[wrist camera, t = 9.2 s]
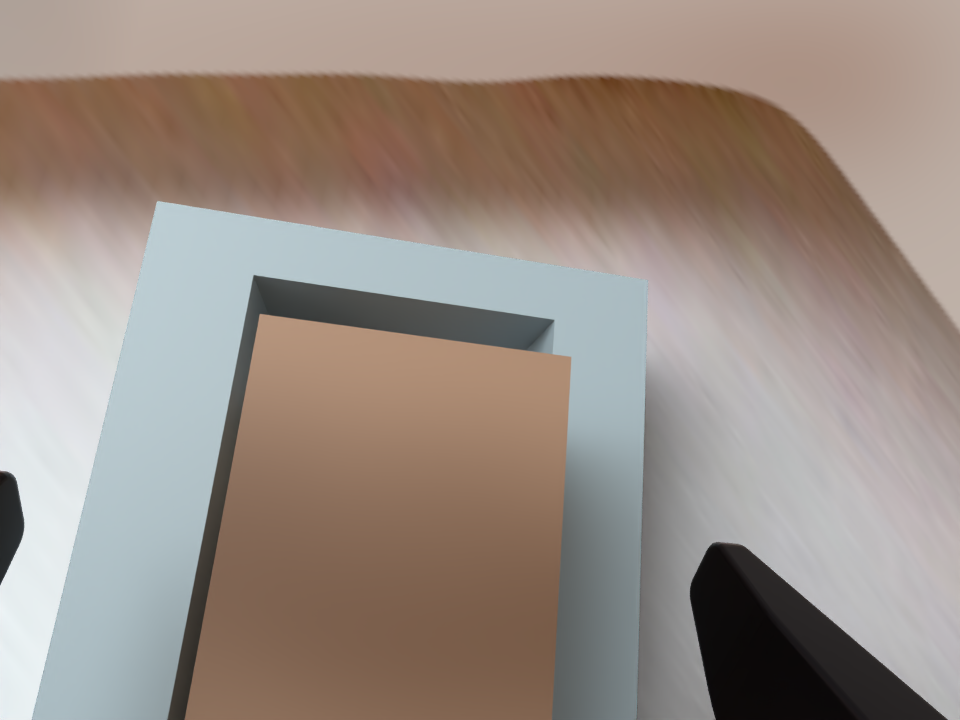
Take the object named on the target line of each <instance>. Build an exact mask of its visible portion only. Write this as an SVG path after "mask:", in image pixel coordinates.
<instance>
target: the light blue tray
mask: <svg viewBox="0 0 960 720" xmlns="http://www.w3.org/2000/svg"><path fill="white" fill-rule="evenodd" d="M647 303H648V280H644V279H638V278H631V277H625V276H619V275H613V274H607V273H600V272H594V271H588V270H582V269H576V268H569V267H563V266H557V265H551V264H544V263H538V262H532V261H526V260H520V259H513V258H507V257H501V256H495V255H489V254H482V253H476V252H470V251H464V250H458V249H451V248H445V247H439V246H433V245H427V244H420V243H414V242H408V241H402V240H396V239H389V238H383V237H377V236H371V235H365V234H358V233H352V232H346V231H340V230H334V229H327V228H321V227H315V226H309V225H302V224H296V223H290V222H284V221H278V220H271V219H265V218H259V217H253V216H247V215H240V214H234V213H228V212H222V211H216V210H209V209H203V208H197V207H191V206H185V205H178V204H172V203H166V202H160V201H157V204H156V209H155V213H154V217H153V221H152V225H151V229H150V233H149V237H148V242H147V246H146V250H145V254H144V258H143V262H142V266H141V270H140V275H139V279H138V283H137V287H136V291H135V295H134V299H133V304H132V308H131V312H130V316H129V320H128V324H127V328H126V332H125V337H124V341H123V345H122V349H121V353H120V357H119V361H118V365H117V370H116V374H115V378H114V382H113V386H112V390H111V394H110V398H109V403H108V407H107V411H106V415H105V419H104V423H103V427H102V431H101V436H100V440H99V444H98V448H97V452H96V456H95V460H94V465H93V469H92V473H91V477H90V481H89V485H88V489H87V493H86V498H85V502H84V506H83V510H82V514H81V518H80V522H79V526H78V531H77V535H76V539H75V543H74V547H73V551H72V555H71V559H70V564H69V568H68V572H67V576H66V580H65V584H64V588H63V593H62V597H61V601H60V605H59V609H58V613H57V617H56V621H55V626H54V630H53V634H52V638H51V642H50V646H49V650H48V654H47V659H46V663H45V667H44V671H43V675H42V679H41V683H40V687H39V692H38V696H37V700H36V704H35V708H34V712H33V716H32V720H185V715H186V709H187V704H188V699H189V693H190V688H191V683H192V677H193V672H194V666H195V661H196V656H197V650H198V645H199V639H200V634H201V629H202V623H203V618H204V612H205V607H206V602H207V596H208V591H209V585H210V580H211V575H212V569H213V564H214V558H215V553H216V548H217V542H218V537H219V531H220V526H221V521H222V515H223V510H224V505H225V499H226V494H227V488H228V483H229V478H230V472H231V467H232V461H233V456H234V451H235V445H236V440H237V434H238V429H239V424H240V418H241V413H242V407H243V402H244V397H245V391H246V386H247V380H248V375H249V370H250V364H251V359H252V353H253V348H254V343H255V337H256V332H257V327H258V321H259V316H260V314H264V315H271V316H279V317H286V318H293V319H300V320H308V321H315V322H322V323H329V324H337V325H344V326H351V327H358V328H366V329H373V330H380V331H387V332H395V333H402V334H409V335H416V336H424V337H431V338H438V339H445V340H453V341H460V342H467V343H475V344H482V345H489V346H496V347H504V348H511V349H518V350H525V351H533V352H540V353H547V354H554V355H562V356H569V357H571V375H570V393H569V412H568V430H567V449H566V467H565V486H564V504H563V523H562V541H561V560H560V578H559V596H558V615H557V633H556V652H555V670H554V689H553V707H552V720H637V690H638V651H639V612H640V574H641V535H642V496H643V458H644V419H645V380H646V341H647Z"/></svg>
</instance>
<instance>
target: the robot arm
mask: <svg viewBox="0 0 960 720" xmlns="http://www.w3.org/2000/svg"><path fill="white" fill-rule="evenodd" d="M23 532H24V517H23V512H22V507H21V501H20V496H19V491H18V485H17V481H16V478H15V477H14V476H13V475H12V474H11V473H9V472H6V471H0V585H1V583H2V581H3V578H4V576H5V574H6V572H7V570H8V568H9V566H10V564H11V561H12V559H13V557H14V555H15V553H16V551H17V549H18V547H19V545H20V542H21V540H22V536H23ZM690 600H691V606H692V611H693V616H694V621H695V626H696V631H697V636H698V641H699V646H700V651H701V656H702V661H703V666H704V671H705V676H706V681H707V686H708V691H709V695H710V700H711V704H712V708H713V711H714V715H715V718H716V720H947V719H946V718H945V717H944V716H943V715H942V714H940V713H939V712H938V711H937V710H936V709H935V708H933V707H932V706H931V705H930V704H929V703H928V702H926V701H925V700H924V699H923V698H922V697H921V696H919V695H918V694H917V693H916V692H915V691H913V690H912V689H911V688H910V687H909V686H908V685H906V684H905V683H904V682H903V681H902V680H901V679H899V678H898V677H897V676H896V675H895V674H894V673H892V672H891V671H890V670H889V669H888V668H887V667H885V666H884V665H883V664H882V663H881V662H879V661H878V660H877V659H876V658H875V657H874V656H872V655H871V654H870V653H869V652H868V651H867V650H865V649H864V648H863V647H862V646H861V645H860V644H858V643H857V642H856V641H855V640H854V639H853V638H851V637H850V636H849V635H848V634H847V633H845V632H844V631H843V630H842V629H841V628H840V627H838V626H837V625H836V624H835V623H834V622H833V621H831V620H830V619H829V618H828V617H827V616H826V615H824V614H823V613H822V612H821V611H820V610H819V609H817V608H816V607H815V606H814V605H813V604H811V603H810V602H809V601H808V600H807V599H806V598H804V597H803V596H802V595H801V594H800V593H799V592H797V591H796V590H795V589H794V588H793V587H792V586H790V585H789V584H788V583H787V582H786V581H785V580H783V579H782V578H781V577H780V576H779V575H777V574H776V573H775V572H774V571H773V570H772V569H770V568H769V567H768V566H767V565H766V564H765V563H763V562H762V561H761V560H760V559H759V558H758V557H756V556H755V555H754V554H753V553H752V552H751V551H749V550H748V549H747V548H746V547H744V546H742V545H739V544H733V543H723V542H716V543H713V544H712V545H710V546H709V548H708V549H707V551H706V553H705V555H704V557H703V559H702V561H701V563H700V566H699V568H698V570H697V572H696V574H695V576H694V578H693V580H692V582H691V587H690Z"/></svg>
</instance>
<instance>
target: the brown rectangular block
mask: <svg viewBox="0 0 960 720" xmlns="http://www.w3.org/2000/svg"><path fill="white" fill-rule="evenodd" d="M570 375H571V357H569V356H562V355H554V354H547V353H540V352H533V351H525V350H518V349H511V348H504V347H496V346H489V345H482V344H475V343H467V342H460V341H453V340H445V339H438V338H431V337H424V336H416V335H409V334H402V333H395V332H387V331H380V330H373V329H366V328H358V327H351V326H344V325H337V324H329V323H322V322H315V321H308V320H300V319H293V318H286V317H279V316H271V315H264V314H260V316H259V321H258V327H257V332H256V337H255V343H254V348H253V353H252V359H251V364H250V370H249V375H248V380H247V386H246V391H245V397H244V402H243V407H242V413H241V418H240V424H239V429H238V434H237V440H236V445H235V451H234V456H233V461H232V467H231V472H230V478H229V483H228V488H227V494H226V499H225V505H224V510H223V515H222V521H221V526H220V531H219V537H218V542H217V548H216V553H215V558H214V564H213V569H212V575H211V580H210V585H209V591H208V596H207V602H206V607H205V612H204V618H203V623H202V629H201V634H200V639H199V645H198V650H197V656H196V661H195V666H194V672H193V677H192V683H191V688H190V693H189V699H188V704H187V709H186V715H185V720H552V707H553V689H554V670H555V652H556V633H557V615H558V596H559V578H560V560H561V541H562V523H563V504H564V486H565V467H566V449H567V430H568V412H569V393H570Z"/></svg>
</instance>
